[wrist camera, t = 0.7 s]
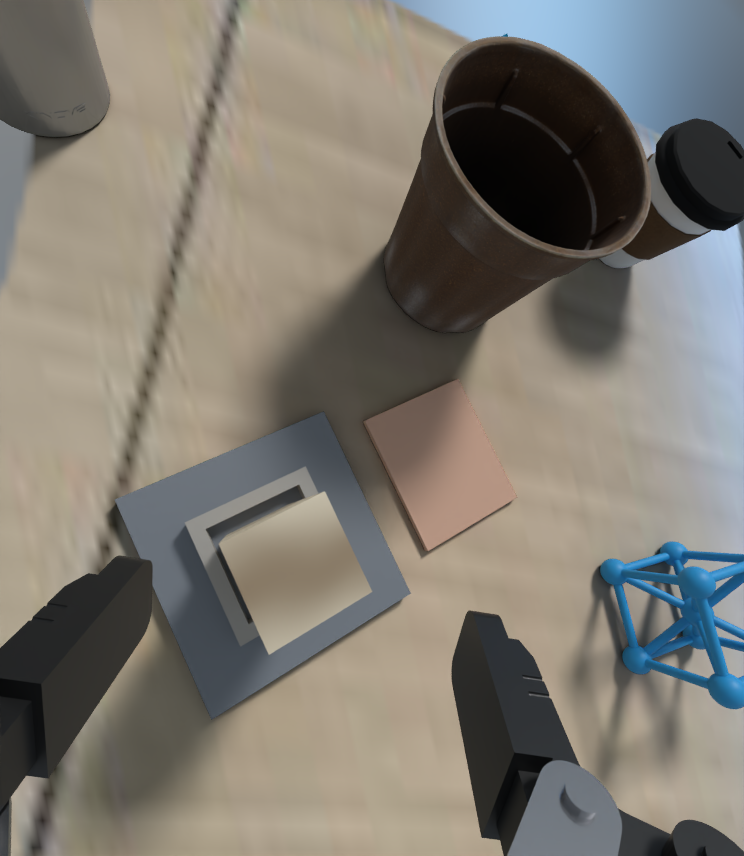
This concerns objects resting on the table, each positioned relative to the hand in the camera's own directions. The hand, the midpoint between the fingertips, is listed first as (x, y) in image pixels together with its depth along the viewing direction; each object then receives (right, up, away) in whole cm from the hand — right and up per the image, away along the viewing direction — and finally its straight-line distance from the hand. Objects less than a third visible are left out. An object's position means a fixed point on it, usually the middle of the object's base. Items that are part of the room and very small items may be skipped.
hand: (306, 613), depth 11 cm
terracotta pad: (+8, +2, +27) cm, 29 cm away
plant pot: (+8, +20, +32) cm, 38 cm away
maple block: (-6, -4, +21) cm, 22 cm away
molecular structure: (+28, -12, +31) cm, 43 cm away
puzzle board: (-6, -4, +22) cm, 23 cm away
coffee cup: (+29, +26, +40) cm, 56 cm away
